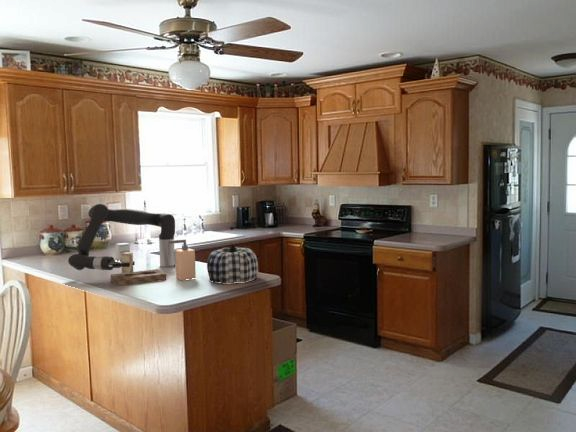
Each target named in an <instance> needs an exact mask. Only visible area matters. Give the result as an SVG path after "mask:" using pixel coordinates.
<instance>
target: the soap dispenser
mask: <svg viewBox="0 0 576 432" xmlns="http://www.w3.org/2000/svg"><path fill="white" fill-rule="evenodd" d="M169 243H170V244H172V243H174V244H181V243H183V244H182V245H181V248H179V249H174V250H175V260H176V265H175V278H176V280H178V279H179V280H178V281H180V280H185V281H187V280H186V279H192V278H197V276H196V275H197V274H196V250H195V249H192V248H189V246H188V245H187V239H174V240H172V241H169Z"/></svg>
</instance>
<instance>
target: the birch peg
mask: <svg viewBox="0 0 576 432" xmlns="http://www.w3.org/2000/svg"><path fill="white" fill-rule="evenodd" d="M133 261H134V253H133V252H131V251H130V252H125V253H122V254H121V262H123V263H130V267H121V273H122V274H125V276H130V273H133V272H134V265H133Z"/></svg>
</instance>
